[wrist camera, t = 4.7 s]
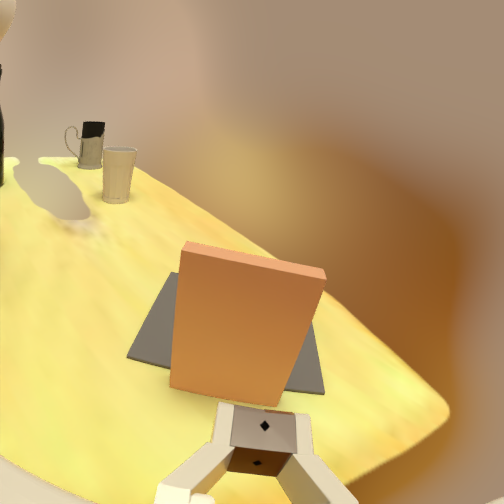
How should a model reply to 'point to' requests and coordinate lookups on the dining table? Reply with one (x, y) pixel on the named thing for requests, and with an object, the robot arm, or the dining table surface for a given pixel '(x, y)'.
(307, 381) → the mat
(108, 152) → the cup
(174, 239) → the dining table surface
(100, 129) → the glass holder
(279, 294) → the tile
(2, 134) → the dark green bottle
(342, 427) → the dining table surface
